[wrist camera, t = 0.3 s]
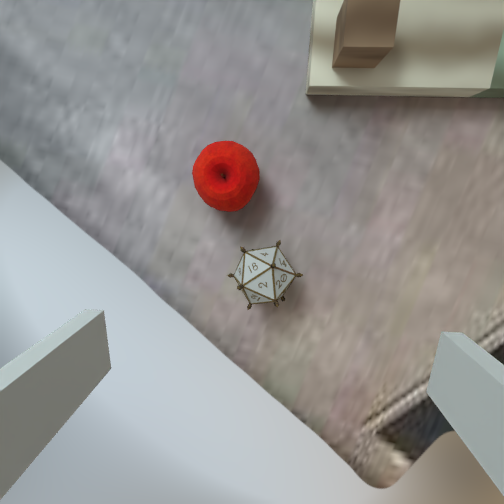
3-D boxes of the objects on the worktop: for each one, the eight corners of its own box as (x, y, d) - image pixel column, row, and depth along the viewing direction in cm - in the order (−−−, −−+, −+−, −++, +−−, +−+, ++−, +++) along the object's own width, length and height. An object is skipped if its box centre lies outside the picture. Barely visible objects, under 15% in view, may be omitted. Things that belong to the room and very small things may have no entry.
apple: (257, 210, 36) (254, 217, 29) (200, 205, 36) (183, 210, 29) (263, 148, 34) (262, 139, 27) (202, 143, 34) (184, 132, 27)
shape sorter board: (317, -64, 28) (323, -92, 25) (566, -67, 27) (602, -98, 24) (305, 94, 32) (309, 85, 29) (522, 98, 31) (549, 89, 28)
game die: (265, 246, 41) (285, 216, 32) (295, 293, 39) (326, 277, 30) (214, 273, 38) (220, 250, 29) (245, 326, 36) (261, 319, 27)
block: (336, 17, 27) (349, -14, 23) (381, 17, 27) (402, -14, 23) (331, 67, 28) (343, 46, 24) (374, 68, 28) (393, 47, 24)
